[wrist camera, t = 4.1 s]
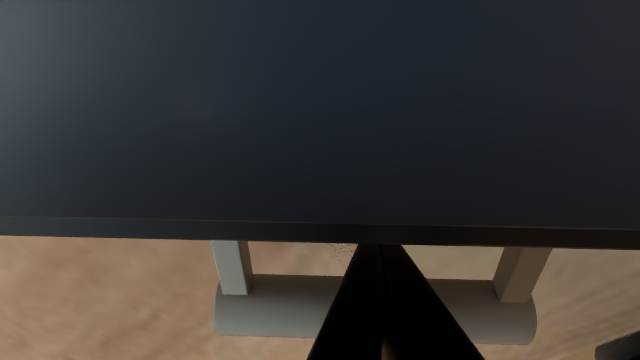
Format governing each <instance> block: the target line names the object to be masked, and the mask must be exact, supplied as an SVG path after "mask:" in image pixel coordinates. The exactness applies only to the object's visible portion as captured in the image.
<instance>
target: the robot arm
mask: <svg viewBox="0 0 640 360" xmlns="http://www.w3.org/2000/svg"><path fill="white" fill-rule="evenodd" d="M307 360H485V359H484V358H483V356H482V355H481V354H480V352H479V351H478V350H477V348H476V347H475V346H474V344H473V343H472V341H471V340H470V339H469V337H468V336H467V335H466V333H465V332H464V330H463V329H462V328H461V326H460V325H459V324H458V322H457V321H456V319H455V318H454V317H453V315H452V314H451V313H450V311H449V310H448V308H447V307H446V306H445V304H444V303H443V302H442V300H441V299H440V297H439V296H438V295H437V293H436V292H435V291H434V289H433V288H432V286H431V285H430V284H429V282H428V281H427V280H426V278H425V277H424V275H423V274H422V273H421V271H420V270H419V269H418V267H417V266H416V264H415V263H414V262H413V260H412V259H411V258H410V256H409V255H408V253H407V252H406V251H405V249H404V248H403V247H402V245H396V244H358V246H357V248H356V250H355V252H354V255H353V257H352V259H351V261H350V264H349V266H348V268H347V270H346V273H345V275H344V277H343V279H342V281H341V284H340V286H339V288H338V290H337V293H336V295H335V297H334V299H333V302H332V304H331V306H330V308H329V311H328V313H327V315H326V317H325V320H324V322H323V324H322V326H321V329H320V331H319V333H318V335H317V338H316V340H315V342H314V344H313V346H312V349H311V351H310V353H309V355H308V358H307ZM628 360H640V354H638V355H636V356H634V357H632V358H630V359H628Z"/></svg>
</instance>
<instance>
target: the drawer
mask: <svg viewBox="0 0 640 360" xmlns="http://www.w3.org/2000/svg"><path fill="white" fill-rule="evenodd" d="M0 235H9V236H52V237H95V238H138V239H181V240H210V243H211V248H212V252H213V256H214V260H215V264H216V268H217V272H218V277H219V282H218V284H217V287H216V291H215V296H214V304H213V322H214V328H215V331H216V333H217V334H219V335H229V336H259V337H290V338H317V335H318V333H319V331H320V329H321V326H322V324H323V322H324V320H325V317H326V315H327V313H328V311H329V308H330V306H331V304H332V302H333V299H334V297H335V295H336V293H337V290H338V288H339V286H340V284H341V281H342V279H343V277H344V276H312V275H274V274H253V272H252V266H251V259H250V253H249V247H248V241H267V242H310V243H353V244H396V245H439V246H482V247H505V248H504V251H503V254H502V256H501V259H500V262H499V264H498V267H497V270H496V273H495V275H494V278H493V280H462V279H426V280H427V281H428V282H429V284H430V285H431V286H432V288H433V289H434V291H435V292H436V293H437V295H438V296H439V297H440V299H441V300H442V302H443V303H444V304H445V306H446V307H447V308H448V310H449V311H450V313H451V314H452V315H453V317H454V318H455V319H456V321H457V322H458V324H459V325H460V326H461V328H462V329H463V330H464V332H465V333H466V335H467V336H468V337H469V339H470V340H471V341H472V343H473V344H501V345H528V344H530V343H531V342H532V341H533V339H534V337H535V333H536V327H537V317H536V309H535V304H534V300H533V297H532V295H531V293H532V291H533V289H534V286H535V284H536V282H537V280H538V278H539V276H540V274H541V271H542V269H543V267H544V265H545V263H546V261H547V259H548V257H549V254H550V252H551V250H552V248H568V249H611V250H640V230H606V229H558V228H512V227H464V226H418V225H370V224H323V223H276V222H229V221H182V220H135V219H88V218H41V217H0Z"/></svg>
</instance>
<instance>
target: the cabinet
mask: <svg viewBox="0 0 640 360" xmlns="http://www.w3.org/2000/svg"><path fill="white" fill-rule="evenodd" d="M0 217H41V218H88V219H135V220H182V221H229V222H276V223H323V224H370V225H418V226H464V227H512V228H558V229H606V230H640V0H0Z"/></svg>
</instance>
